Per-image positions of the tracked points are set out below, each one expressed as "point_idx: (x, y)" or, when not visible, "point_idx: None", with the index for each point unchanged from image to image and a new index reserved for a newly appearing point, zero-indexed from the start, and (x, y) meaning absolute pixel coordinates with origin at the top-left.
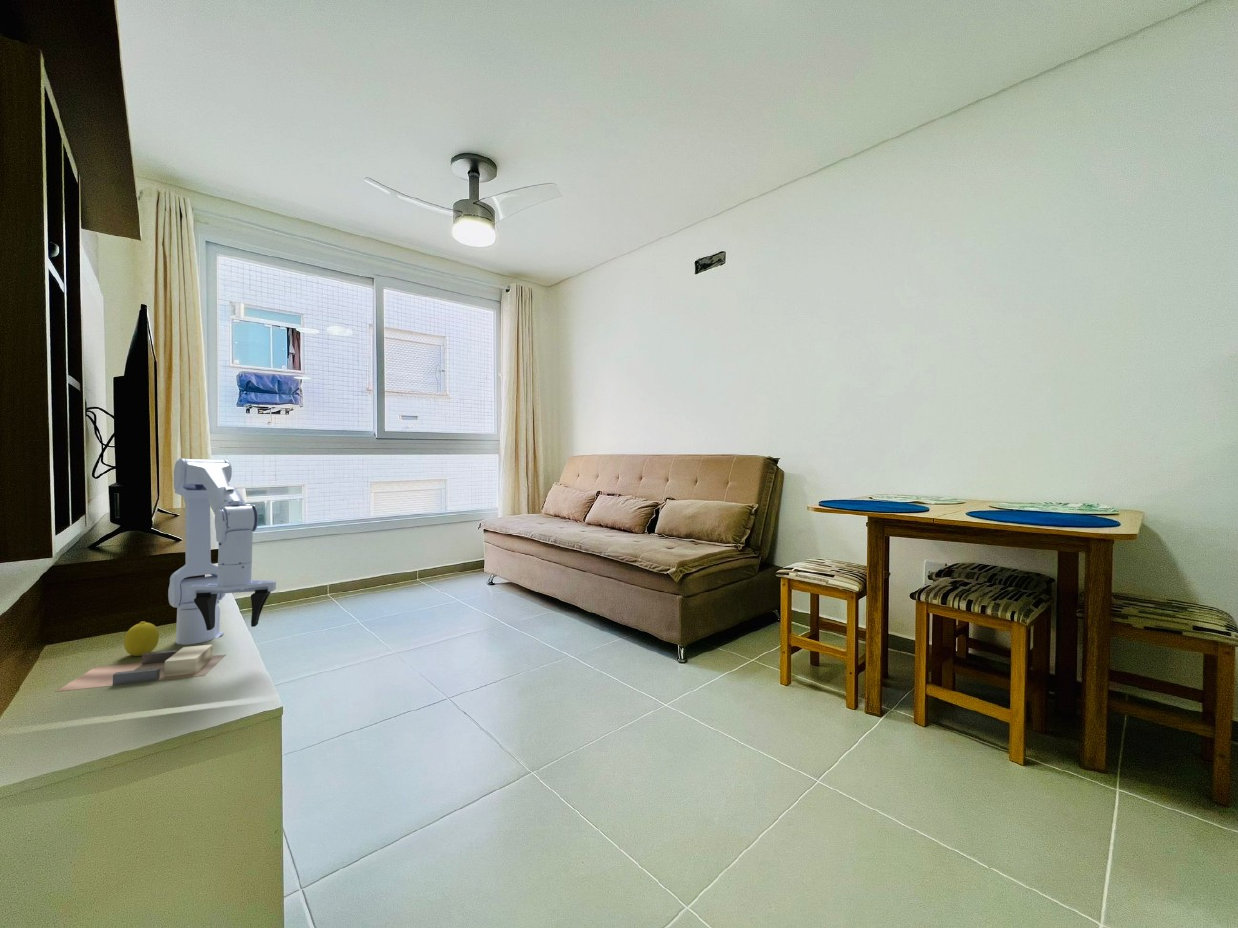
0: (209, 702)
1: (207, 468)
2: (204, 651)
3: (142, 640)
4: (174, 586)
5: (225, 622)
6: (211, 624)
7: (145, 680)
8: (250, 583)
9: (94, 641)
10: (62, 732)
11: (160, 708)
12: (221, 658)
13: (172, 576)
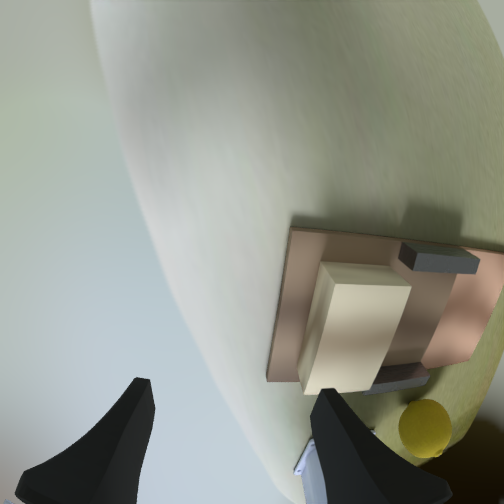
0: (232, 24)
1: None
2: (318, 346)
3: (430, 418)
4: None
5: (296, 495)
6: (324, 411)
7: (422, 245)
8: None
9: None
10: (466, 42)
11: (348, 44)
12: (272, 358)
13: None
